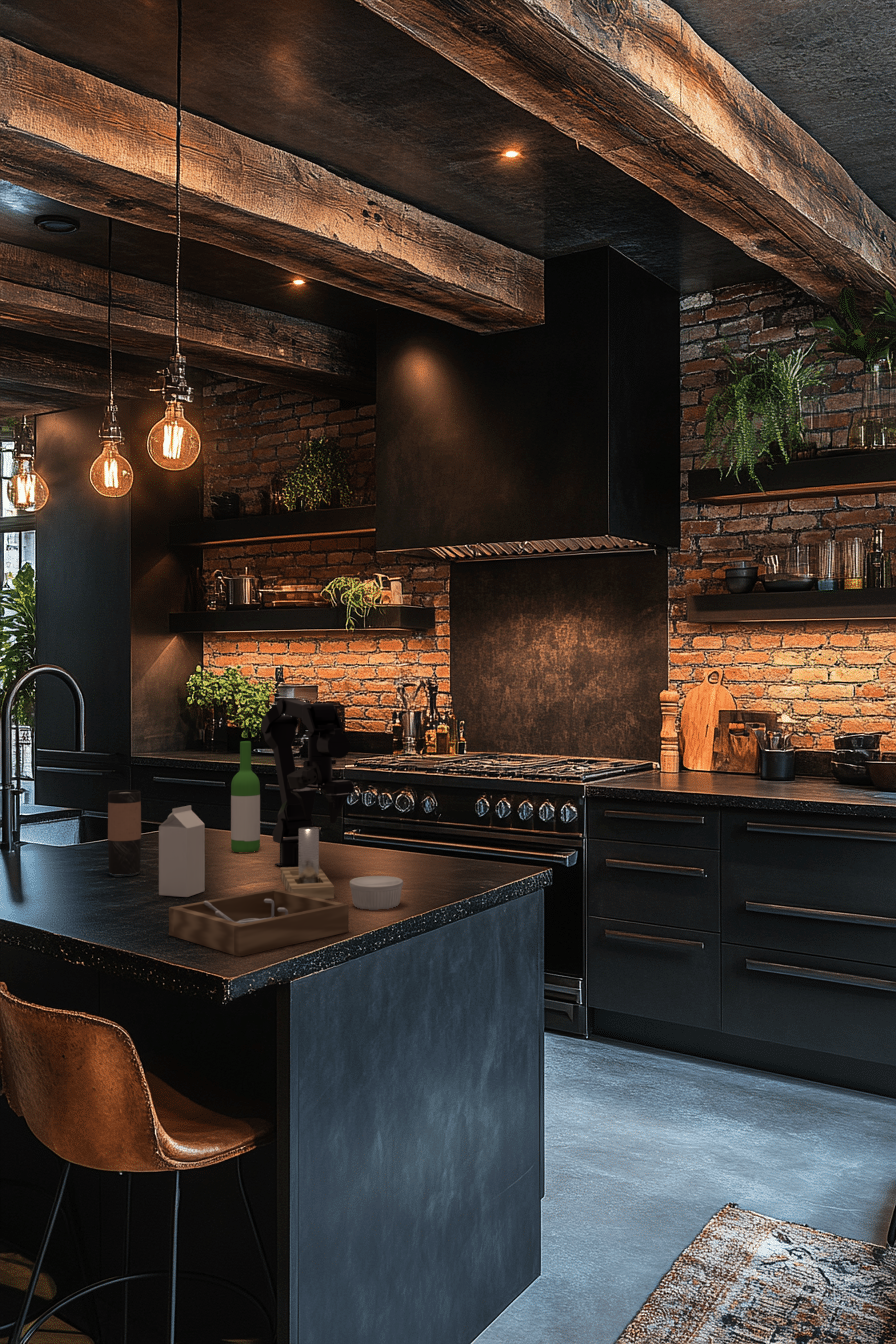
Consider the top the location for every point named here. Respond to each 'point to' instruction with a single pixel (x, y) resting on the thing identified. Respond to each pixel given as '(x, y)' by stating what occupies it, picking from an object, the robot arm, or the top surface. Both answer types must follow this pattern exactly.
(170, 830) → the milk carton
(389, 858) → the top surface
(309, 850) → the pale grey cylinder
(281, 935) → the tray
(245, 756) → the wine bottle
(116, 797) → the travel mug
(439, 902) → the top surface
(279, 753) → the robot arm
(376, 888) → the ramekin
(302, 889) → the wooden slotted holder
